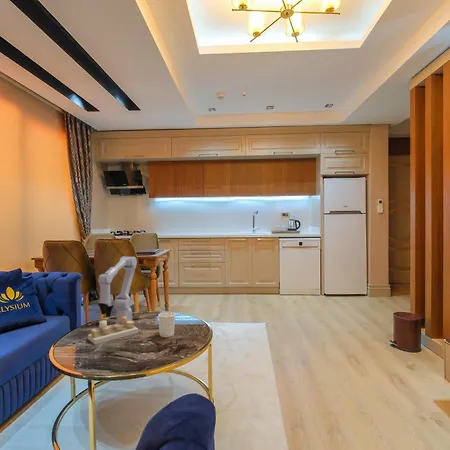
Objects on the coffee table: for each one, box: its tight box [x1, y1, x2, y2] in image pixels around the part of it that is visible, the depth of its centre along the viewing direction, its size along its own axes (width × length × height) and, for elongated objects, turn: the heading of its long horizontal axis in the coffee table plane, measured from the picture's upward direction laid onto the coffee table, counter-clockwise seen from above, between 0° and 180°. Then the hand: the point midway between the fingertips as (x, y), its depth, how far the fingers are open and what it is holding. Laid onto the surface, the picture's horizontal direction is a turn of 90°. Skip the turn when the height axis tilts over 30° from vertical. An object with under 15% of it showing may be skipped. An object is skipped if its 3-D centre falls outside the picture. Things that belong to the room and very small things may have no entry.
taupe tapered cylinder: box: [98, 319, 108, 329], centre depth 183 cm, size 4×4×4 cm
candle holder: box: [157, 311, 176, 338], centre depth 188 cm, size 10×10×12 cm
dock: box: [87, 326, 139, 345], centre depth 187 cm, size 26×11×3 cm, turn 131°
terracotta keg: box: [120, 316, 127, 324], centre depth 191 cm, size 4×4×4 cm
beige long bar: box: [90, 319, 136, 338], centre depth 187 cm, size 24×5×4 cm, turn 132°
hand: (105, 315), depth 196 cm, fingers open, 7 cm apart
